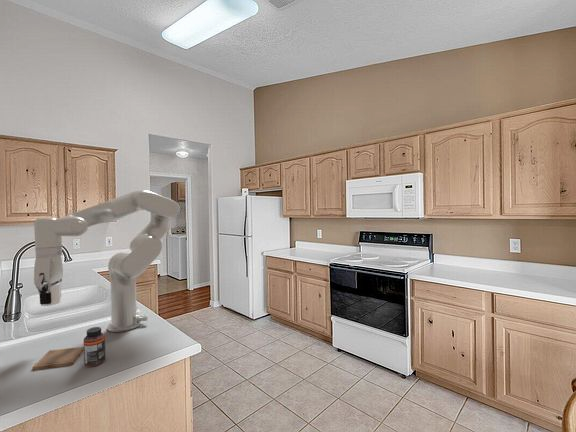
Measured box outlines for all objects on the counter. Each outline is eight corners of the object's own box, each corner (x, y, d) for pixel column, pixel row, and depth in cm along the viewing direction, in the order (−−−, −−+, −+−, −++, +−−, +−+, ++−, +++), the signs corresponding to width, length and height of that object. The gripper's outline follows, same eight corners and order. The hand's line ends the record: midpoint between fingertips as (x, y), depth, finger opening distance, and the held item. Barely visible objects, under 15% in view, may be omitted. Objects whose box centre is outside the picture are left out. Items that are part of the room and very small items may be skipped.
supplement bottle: (91, 358, 101) (90, 325, 101) (109, 357, 101) (108, 325, 101) (80, 368, 95) (79, 333, 95) (99, 367, 96) (98, 332, 95)
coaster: (85, 349, 107) (85, 346, 107) (72, 364, 97) (72, 361, 97) (49, 353, 104) (49, 350, 104) (32, 370, 94) (32, 366, 94)
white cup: (67, 300, 112) (66, 281, 111) (52, 306, 105) (51, 286, 104) (49, 300, 112) (48, 281, 111) (33, 306, 105) (32, 287, 105)
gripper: (50, 248, 115) (52, 294, 116) (21, 256, 98) (23, 310, 99) (72, 247, 117) (73, 293, 117) (47, 255, 100) (50, 308, 101)
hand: (51, 300), depth 108 cm, fingers closed on white cup, 6 cm apart
